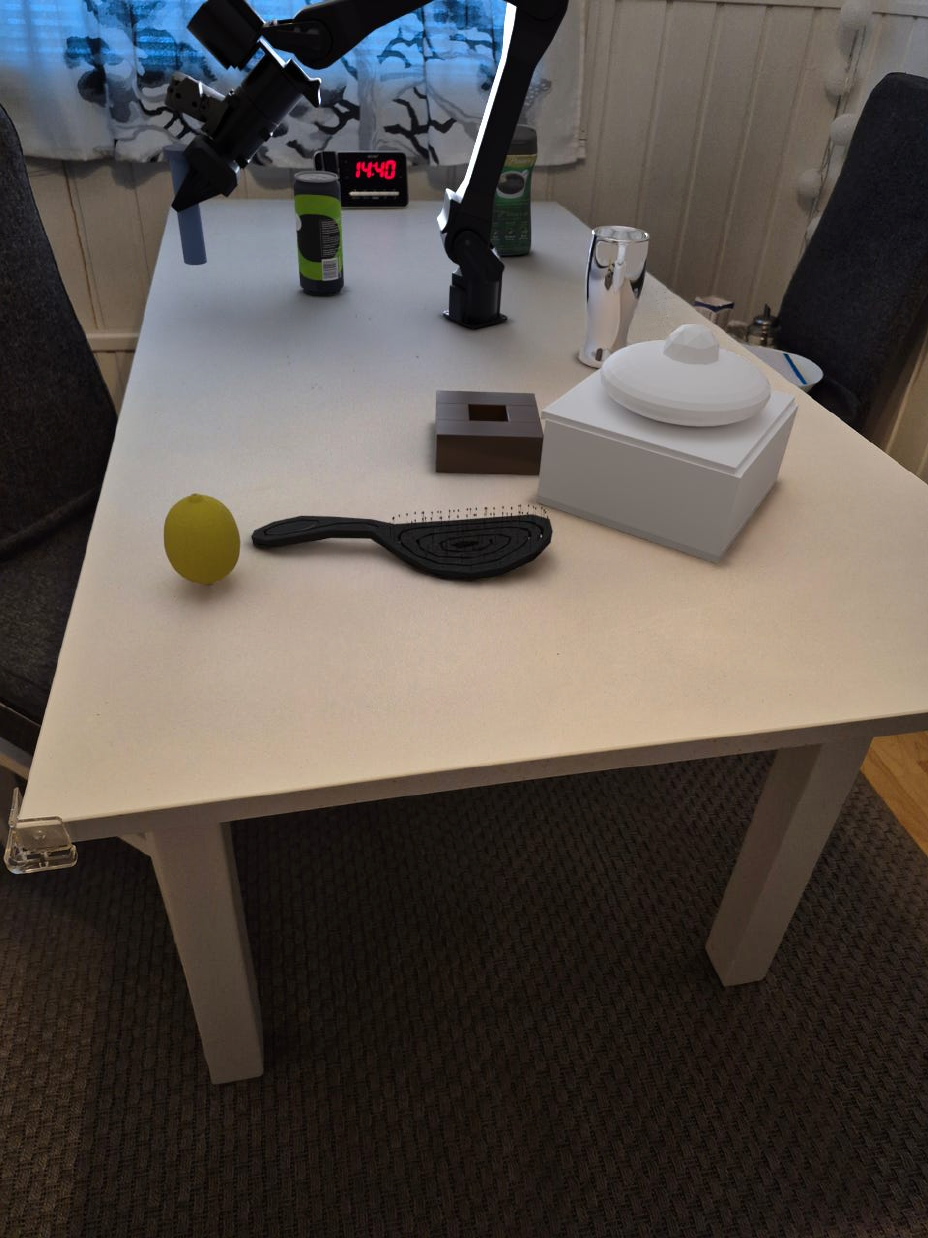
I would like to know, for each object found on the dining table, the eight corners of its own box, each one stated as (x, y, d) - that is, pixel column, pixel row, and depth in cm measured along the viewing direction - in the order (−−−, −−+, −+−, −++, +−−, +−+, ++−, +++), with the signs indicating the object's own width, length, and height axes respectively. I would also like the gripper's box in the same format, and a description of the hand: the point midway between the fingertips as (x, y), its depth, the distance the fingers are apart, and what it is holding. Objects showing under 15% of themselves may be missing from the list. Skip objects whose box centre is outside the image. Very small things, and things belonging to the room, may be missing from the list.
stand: (435, 425, 93) (436, 389, 91) (530, 428, 94) (534, 392, 91) (435, 472, 85) (436, 434, 83) (540, 474, 86) (544, 437, 83)
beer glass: (637, 356, 111) (658, 230, 102) (621, 374, 106) (642, 244, 97) (585, 345, 114) (601, 221, 104) (567, 363, 108) (582, 234, 99)
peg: (202, 255, 114) (187, 142, 106) (217, 263, 111) (203, 148, 103) (173, 260, 111) (156, 145, 103) (188, 268, 109) (171, 151, 101)
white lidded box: (717, 564, 74) (765, 385, 65) (531, 500, 82) (549, 330, 72) (777, 482, 86) (824, 321, 77) (610, 432, 94) (634, 279, 84)
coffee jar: (521, 243, 150) (531, 119, 139) (535, 256, 144) (546, 128, 133) (466, 244, 148) (472, 119, 137) (477, 257, 142) (484, 128, 131)
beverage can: (348, 284, 129) (344, 171, 119) (339, 298, 124) (334, 181, 114) (306, 281, 129) (298, 168, 120) (295, 295, 124) (287, 178, 115)
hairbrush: (259, 487, 75) (551, 491, 75) (265, 524, 78) (549, 528, 77) (236, 540, 69) (556, 545, 68) (243, 579, 71) (553, 583, 70)
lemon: (179, 564, 71) (162, 476, 66) (249, 563, 71) (238, 476, 67) (166, 605, 67) (148, 514, 62) (241, 604, 67) (228, 514, 62)
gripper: (212, 36, 105) (134, 137, 110) (189, 53, 90) (100, 169, 96) (284, 113, 110) (206, 206, 116) (274, 141, 96) (186, 246, 101)
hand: (176, 205), depth 107 cm, fingers closed on peg, 3 cm apart
